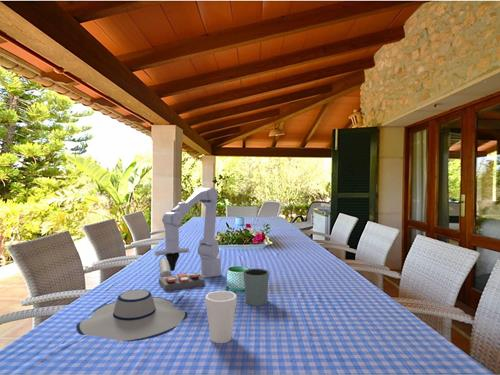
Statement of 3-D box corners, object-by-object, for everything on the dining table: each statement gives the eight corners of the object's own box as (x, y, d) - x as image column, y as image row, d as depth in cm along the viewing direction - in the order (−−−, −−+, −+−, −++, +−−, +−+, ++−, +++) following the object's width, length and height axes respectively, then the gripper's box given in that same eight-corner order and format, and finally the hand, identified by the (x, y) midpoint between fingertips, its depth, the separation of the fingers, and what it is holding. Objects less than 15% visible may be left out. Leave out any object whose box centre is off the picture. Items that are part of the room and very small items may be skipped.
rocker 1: (173, 278, 155) (173, 275, 155) (176, 281, 150) (176, 278, 150) (165, 279, 154) (165, 276, 154) (168, 282, 148) (168, 279, 148)
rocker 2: (185, 274, 158) (185, 272, 158) (188, 281, 153) (189, 279, 152) (177, 275, 156) (177, 273, 156) (180, 282, 151) (181, 280, 151)
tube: (173, 271, 164) (170, 259, 188) (162, 269, 162) (160, 256, 186) (169, 282, 163) (167, 268, 187) (158, 279, 162) (157, 266, 186)
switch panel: (196, 278, 166) (196, 271, 166) (204, 285, 155) (204, 278, 155) (158, 283, 158) (158, 276, 158) (165, 290, 147) (165, 283, 147)
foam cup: (206, 331, 109) (206, 291, 108) (235, 330, 109) (235, 290, 109) (205, 346, 99) (204, 302, 99) (236, 345, 100) (236, 301, 99)
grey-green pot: (250, 308, 128) (250, 276, 128) (239, 299, 137) (239, 270, 136) (273, 303, 133) (273, 273, 132) (261, 295, 142) (261, 267, 141)
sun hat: (94, 304, 134) (94, 281, 134) (187, 298, 140) (187, 276, 140) (59, 349, 99) (59, 317, 98) (186, 339, 105) (186, 310, 104)
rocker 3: (196, 276, 160) (196, 274, 160) (200, 276, 155) (200, 274, 155) (189, 277, 159) (189, 274, 159) (193, 277, 153) (192, 275, 154)
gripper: (157, 242, 142) (157, 274, 143) (190, 239, 149) (191, 270, 150) (153, 239, 149) (154, 270, 149) (186, 236, 155) (186, 266, 156)
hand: (172, 270), depth 150 cm, fingers closed
